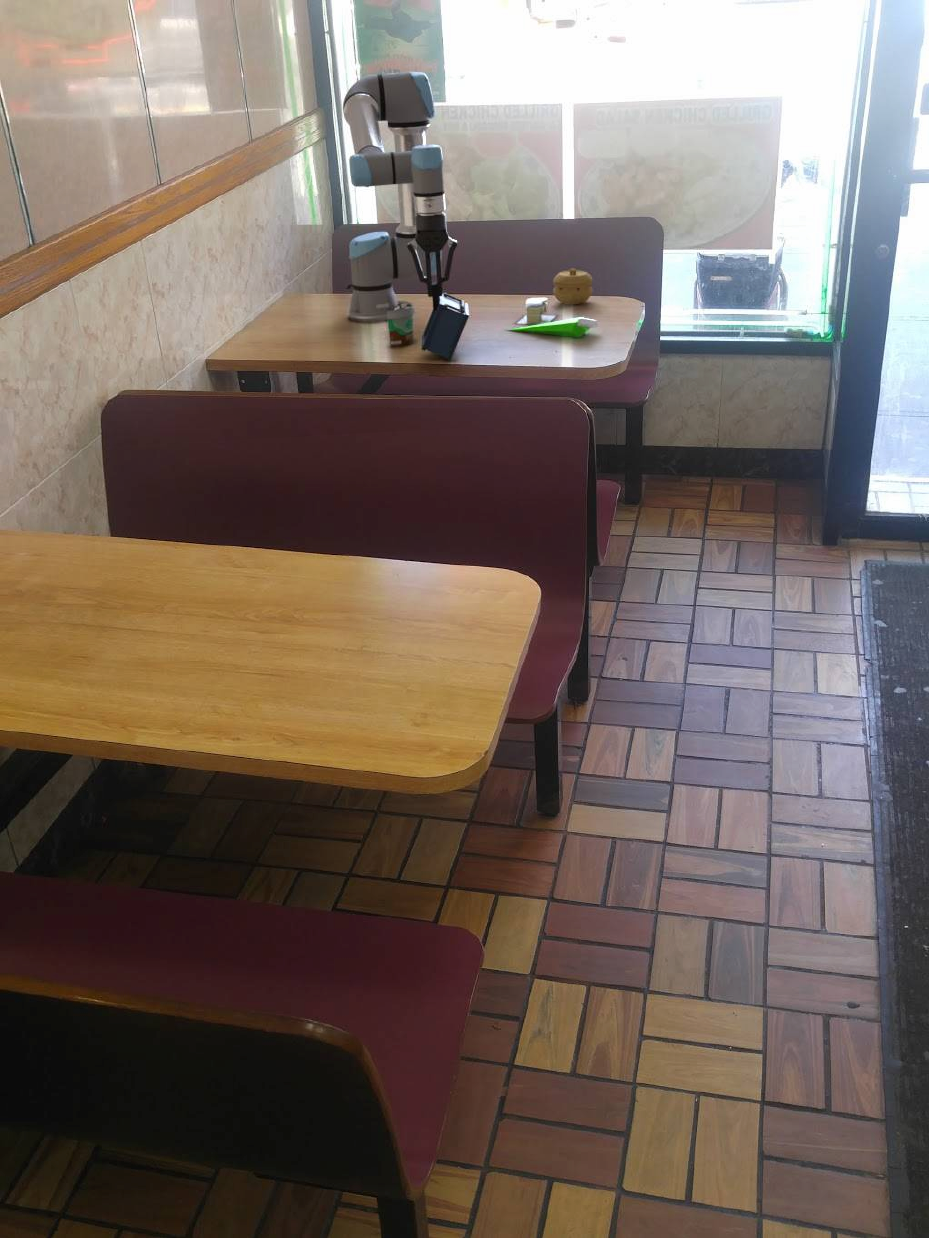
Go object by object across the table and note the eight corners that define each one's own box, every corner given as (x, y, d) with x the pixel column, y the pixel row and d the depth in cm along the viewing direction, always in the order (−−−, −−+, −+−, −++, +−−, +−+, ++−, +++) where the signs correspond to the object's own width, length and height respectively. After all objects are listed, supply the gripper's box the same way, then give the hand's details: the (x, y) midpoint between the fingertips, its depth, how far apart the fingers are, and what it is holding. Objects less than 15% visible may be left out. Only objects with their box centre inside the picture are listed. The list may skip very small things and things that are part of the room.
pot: (545, 304, 339) (544, 270, 334) (571, 296, 345) (571, 262, 340) (574, 309, 331) (574, 275, 326) (600, 301, 338) (601, 267, 333)
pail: (422, 336, 300) (440, 289, 294) (450, 347, 302) (468, 301, 296) (421, 350, 288) (440, 301, 282) (450, 361, 290) (470, 313, 284)
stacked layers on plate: (546, 324, 317) (546, 305, 315) (516, 323, 320) (515, 304, 317) (556, 316, 325) (556, 296, 323) (526, 314, 328) (526, 295, 326)
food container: (411, 349, 302) (408, 311, 297) (389, 348, 303) (386, 311, 299) (422, 336, 313) (419, 300, 308) (400, 336, 314) (398, 300, 309)
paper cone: (498, 342, 310) (580, 335, 298) (497, 322, 309) (580, 314, 297) (517, 344, 320) (598, 338, 307) (516, 324, 319) (598, 317, 306)
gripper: (403, 217, 275) (410, 314, 287) (456, 214, 275) (461, 311, 287) (404, 212, 282) (411, 307, 293) (456, 209, 282) (461, 304, 293)
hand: (436, 309), depth 290 cm, fingers closed
